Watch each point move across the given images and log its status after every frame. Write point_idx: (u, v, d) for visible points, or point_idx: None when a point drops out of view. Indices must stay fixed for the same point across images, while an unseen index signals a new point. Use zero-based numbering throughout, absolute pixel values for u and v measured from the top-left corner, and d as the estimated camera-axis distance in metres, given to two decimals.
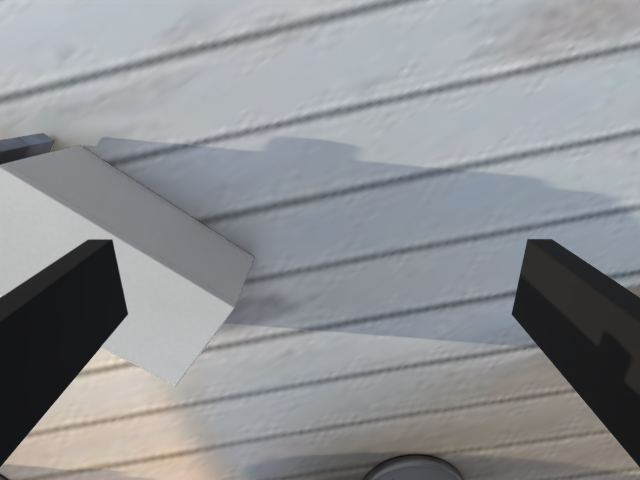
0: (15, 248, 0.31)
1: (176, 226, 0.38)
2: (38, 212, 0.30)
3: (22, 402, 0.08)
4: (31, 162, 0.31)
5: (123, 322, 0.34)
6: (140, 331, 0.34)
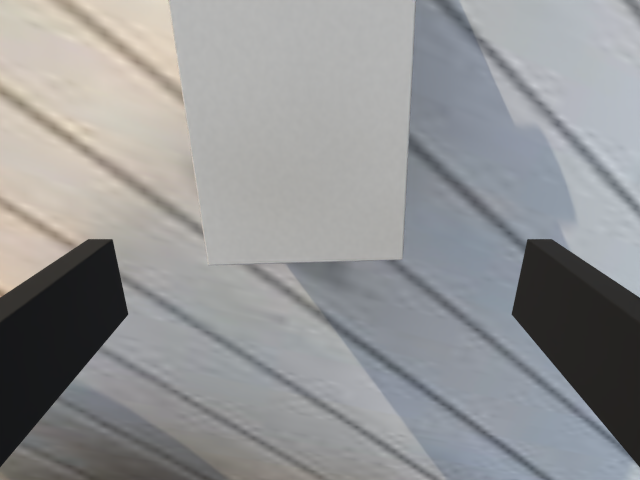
0: None
1: None
2: None
3: (22, 402, 0.08)
4: None
5: (262, 129, 0.18)
6: (267, 163, 0.19)
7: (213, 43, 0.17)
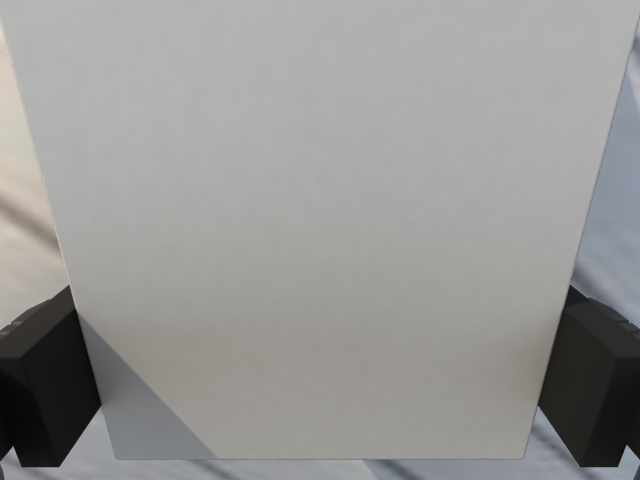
0: None
1: None
2: None
3: None
4: None
5: (231, 195, 0.07)
6: (241, 271, 0.08)
7: None
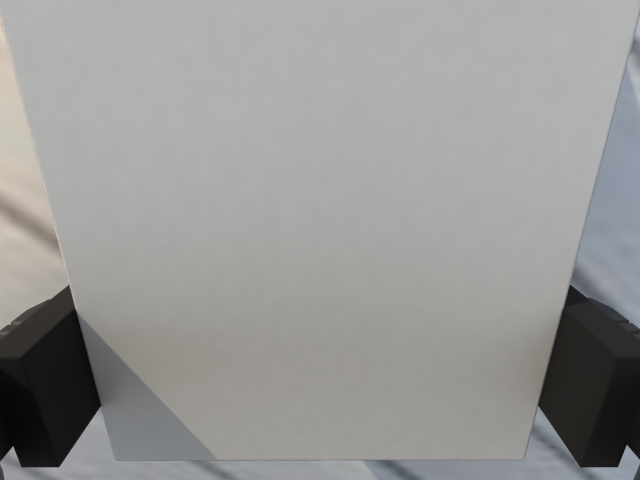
0: None
1: None
2: None
3: None
4: None
5: (231, 195, 0.07)
6: (241, 270, 0.08)
7: None
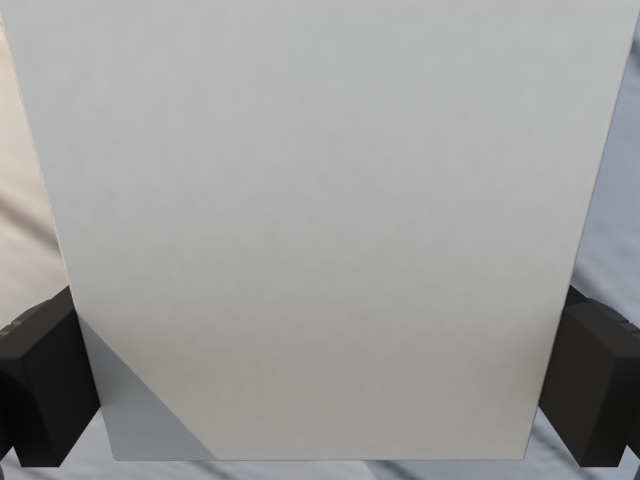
0: None
1: None
2: None
3: None
4: None
5: (231, 194, 0.07)
6: (241, 270, 0.08)
7: None
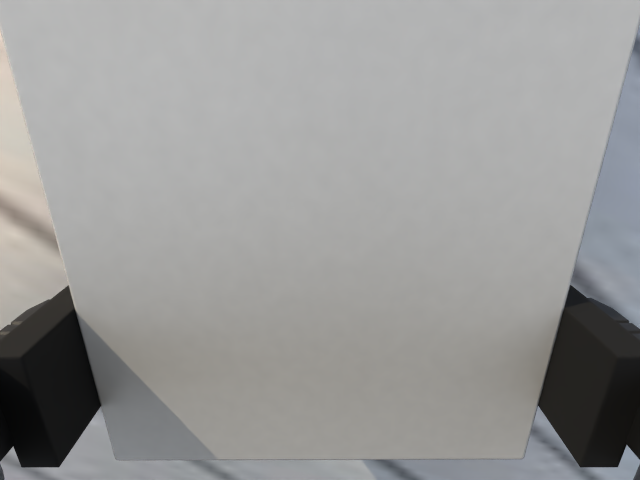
0: None
1: None
2: None
3: None
4: None
5: (231, 196, 0.07)
6: (241, 271, 0.08)
7: None
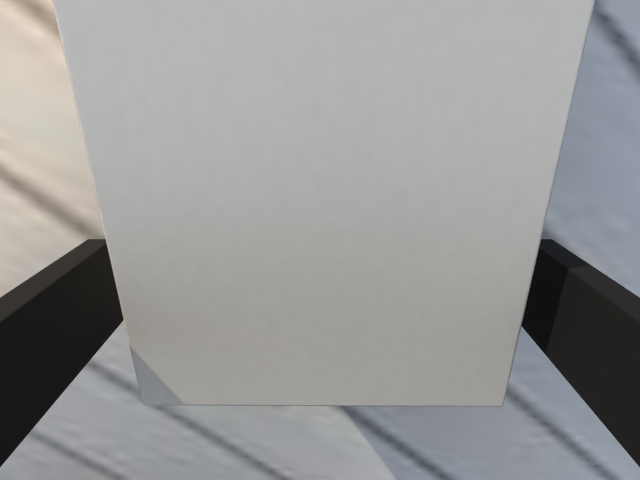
0: None
1: None
2: None
3: (23, 402, 0.08)
4: None
5: (247, 166, 0.09)
6: (255, 233, 0.09)
7: None
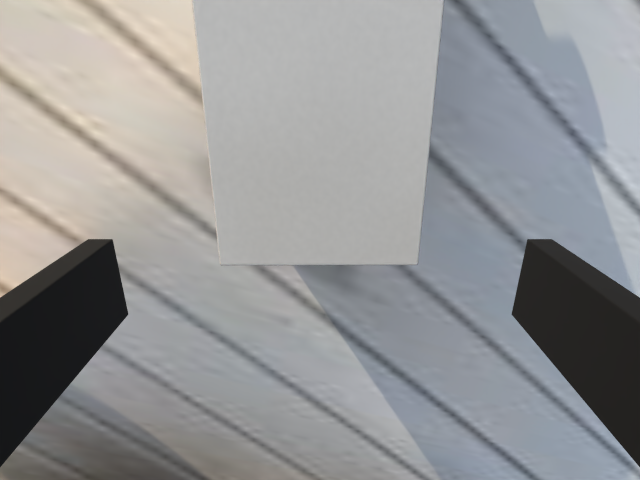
0: None
1: None
2: None
3: (22, 402, 0.08)
4: None
5: (282, 128, 0.18)
6: (285, 163, 0.19)
7: (235, 39, 0.17)
